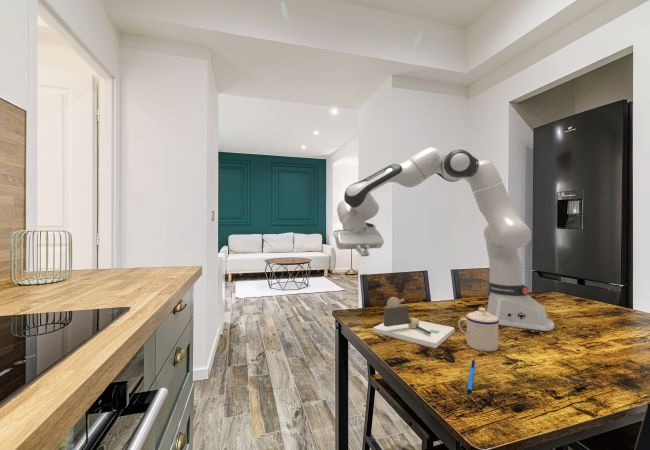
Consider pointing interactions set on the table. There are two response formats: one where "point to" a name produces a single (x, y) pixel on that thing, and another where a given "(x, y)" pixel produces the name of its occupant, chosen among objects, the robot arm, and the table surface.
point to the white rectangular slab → (417, 333)
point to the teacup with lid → (481, 330)
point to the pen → (471, 377)
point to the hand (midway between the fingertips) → (365, 255)
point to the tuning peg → (400, 317)
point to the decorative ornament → (394, 302)
